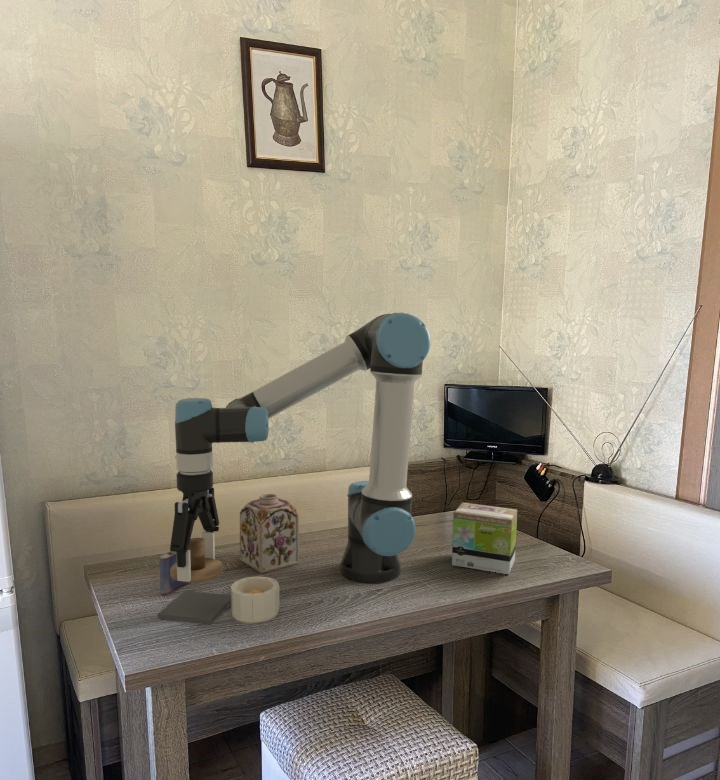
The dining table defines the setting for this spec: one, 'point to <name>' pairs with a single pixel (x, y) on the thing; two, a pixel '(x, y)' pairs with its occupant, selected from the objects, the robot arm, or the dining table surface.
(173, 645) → the dining table surface
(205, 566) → the lid
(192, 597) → the mat
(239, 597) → the bowl
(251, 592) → the apricot
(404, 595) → the dining table surface
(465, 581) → the dining table surface
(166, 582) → the flask
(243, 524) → the decorative jar
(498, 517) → the tea box
